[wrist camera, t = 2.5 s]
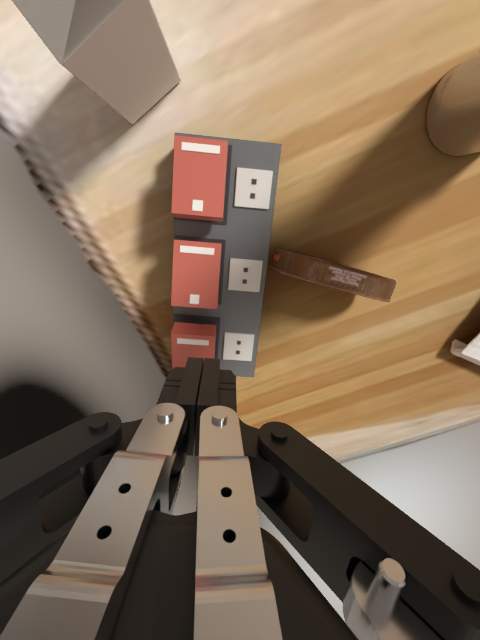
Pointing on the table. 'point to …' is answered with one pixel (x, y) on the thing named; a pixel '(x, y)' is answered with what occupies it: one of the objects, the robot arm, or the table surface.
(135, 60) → the milk carton
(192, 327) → the rocker
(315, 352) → the table surface
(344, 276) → the tin
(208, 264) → the block
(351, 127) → the table surface
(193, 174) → the block
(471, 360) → the white flat bar
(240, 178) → the power strip
